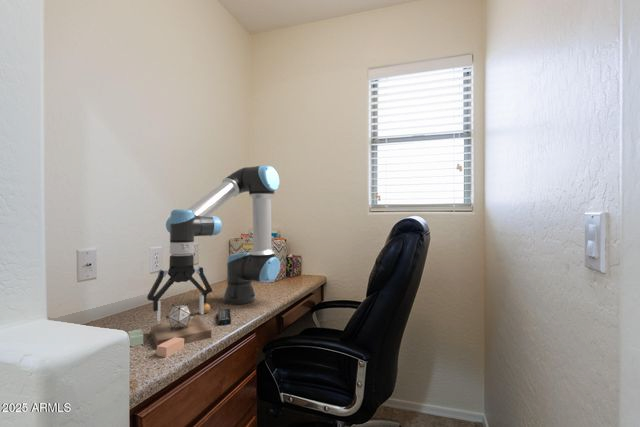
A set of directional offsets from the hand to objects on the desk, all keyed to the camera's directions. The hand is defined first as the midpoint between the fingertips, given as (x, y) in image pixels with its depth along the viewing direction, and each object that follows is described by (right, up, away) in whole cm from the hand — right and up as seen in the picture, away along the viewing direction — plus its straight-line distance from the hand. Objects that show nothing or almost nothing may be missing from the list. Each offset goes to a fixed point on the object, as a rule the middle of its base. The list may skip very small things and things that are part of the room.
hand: (180, 316), depth 104 cm
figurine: (-1, -7, +24) cm, 25 cm away
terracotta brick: (+3, -6, -13) cm, 15 cm away
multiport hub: (+10, -7, +17) cm, 21 cm away
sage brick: (-12, -6, -6) cm, 15 cm away
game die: (0, -4, 0) cm, 4 cm away
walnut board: (0, -6, 0) cm, 6 cm away
